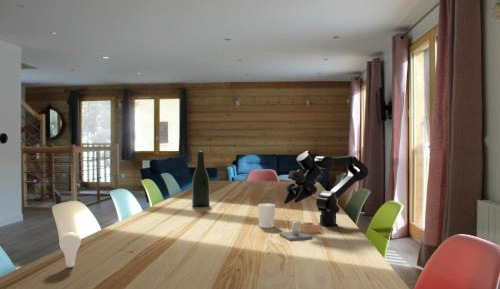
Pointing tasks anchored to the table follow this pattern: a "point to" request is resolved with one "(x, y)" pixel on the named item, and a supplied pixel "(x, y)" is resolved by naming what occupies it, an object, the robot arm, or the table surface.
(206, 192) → the dark green wine bottle
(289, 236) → the post plate
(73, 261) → the lightbulb
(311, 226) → the ring
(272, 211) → the white cup
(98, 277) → the table surface
